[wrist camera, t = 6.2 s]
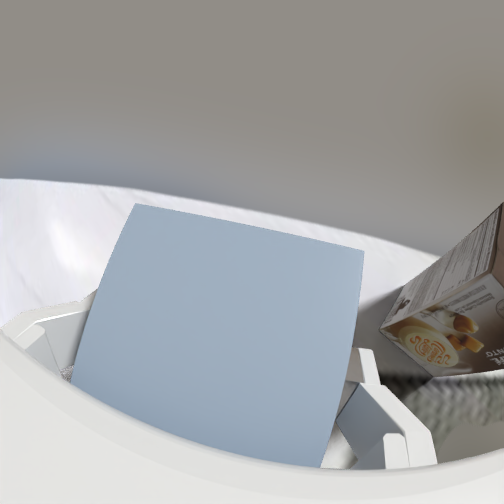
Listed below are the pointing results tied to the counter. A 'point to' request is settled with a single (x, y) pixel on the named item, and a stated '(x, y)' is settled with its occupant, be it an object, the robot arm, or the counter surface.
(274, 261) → the pale blue cube
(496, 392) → the counter surface
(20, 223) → the counter surface
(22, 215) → the counter surface
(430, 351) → the coffee box
